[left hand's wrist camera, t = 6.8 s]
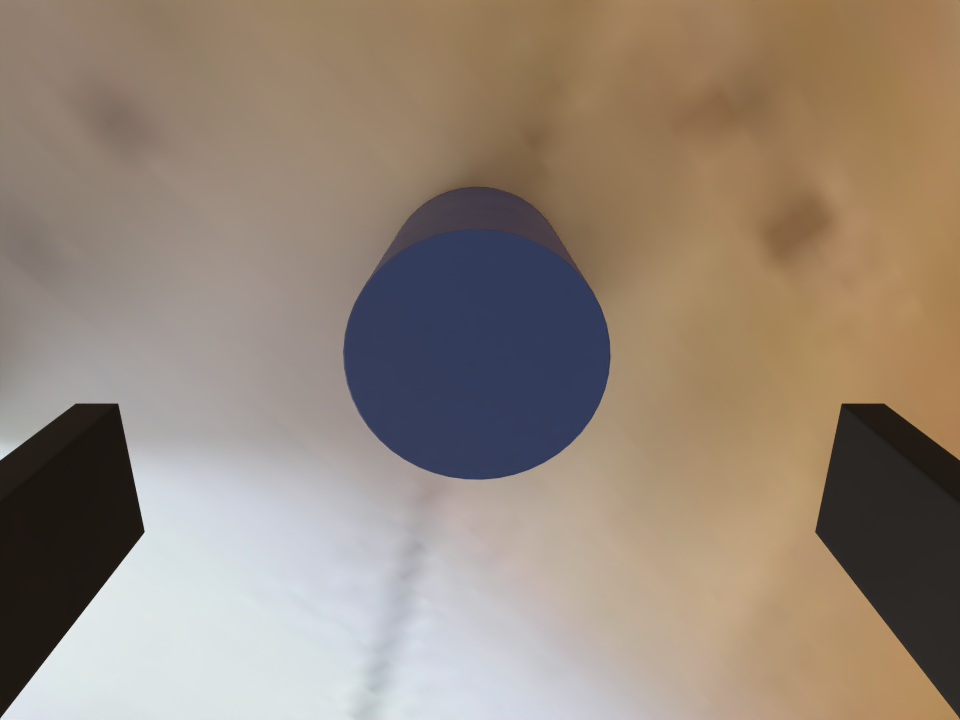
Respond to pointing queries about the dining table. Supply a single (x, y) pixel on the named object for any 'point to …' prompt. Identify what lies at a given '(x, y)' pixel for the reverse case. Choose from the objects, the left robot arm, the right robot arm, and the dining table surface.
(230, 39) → the dining table surface
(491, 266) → the can
